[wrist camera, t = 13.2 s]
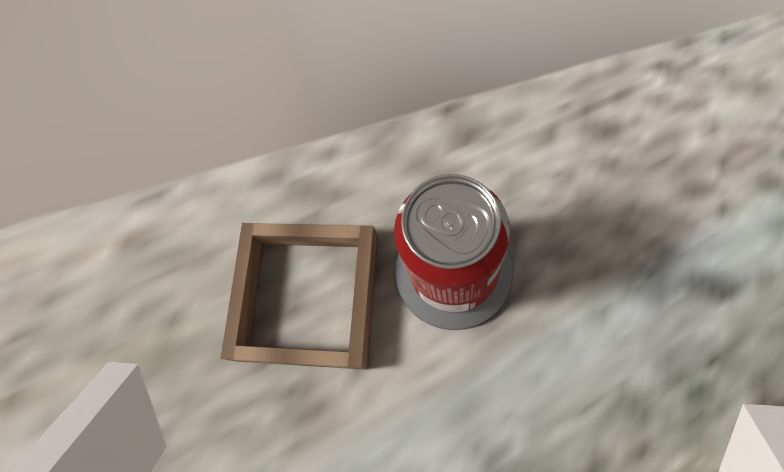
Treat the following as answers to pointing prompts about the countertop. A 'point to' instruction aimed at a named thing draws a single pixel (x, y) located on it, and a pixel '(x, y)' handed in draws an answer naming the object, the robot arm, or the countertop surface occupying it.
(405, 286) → the coaster
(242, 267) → the frame
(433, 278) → the soda can
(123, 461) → the robot arm
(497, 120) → the countertop surface
